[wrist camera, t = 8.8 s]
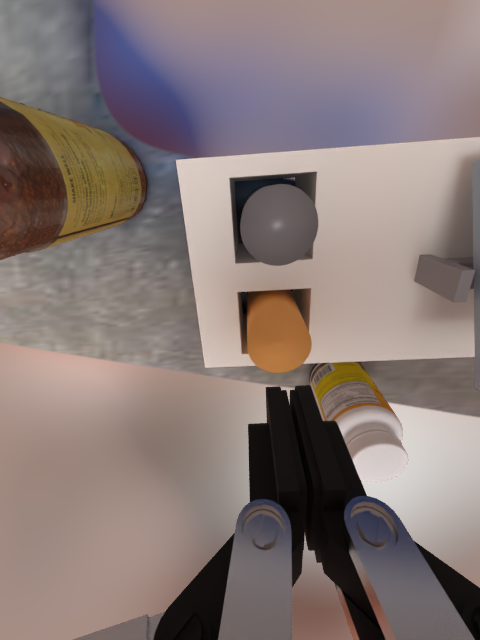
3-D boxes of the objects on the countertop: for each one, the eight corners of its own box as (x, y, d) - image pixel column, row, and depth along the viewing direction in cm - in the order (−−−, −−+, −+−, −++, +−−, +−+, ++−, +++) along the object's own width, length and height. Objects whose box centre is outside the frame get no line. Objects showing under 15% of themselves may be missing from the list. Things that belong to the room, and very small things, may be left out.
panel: (533, 144, 19) (804, 100, 10) (477, 312, 25) (618, 386, 16) (197, 169, 21) (155, 151, 11) (215, 324, 26) (197, 401, 17)
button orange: (292, 276, 21) (313, 315, 15) (291, 317, 23) (310, 371, 16) (245, 278, 22) (245, 319, 15) (248, 320, 23) (248, 373, 16)
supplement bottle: (358, 396, 29) (410, 491, 20) (306, 396, 30) (334, 490, 20) (368, 352, 27) (431, 436, 18) (311, 352, 27) (344, 435, 18)
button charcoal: (293, 184, 19) (320, 181, 12) (292, 238, 20) (316, 263, 13) (240, 188, 19) (237, 186, 12) (243, 241, 20) (242, 267, 14)
